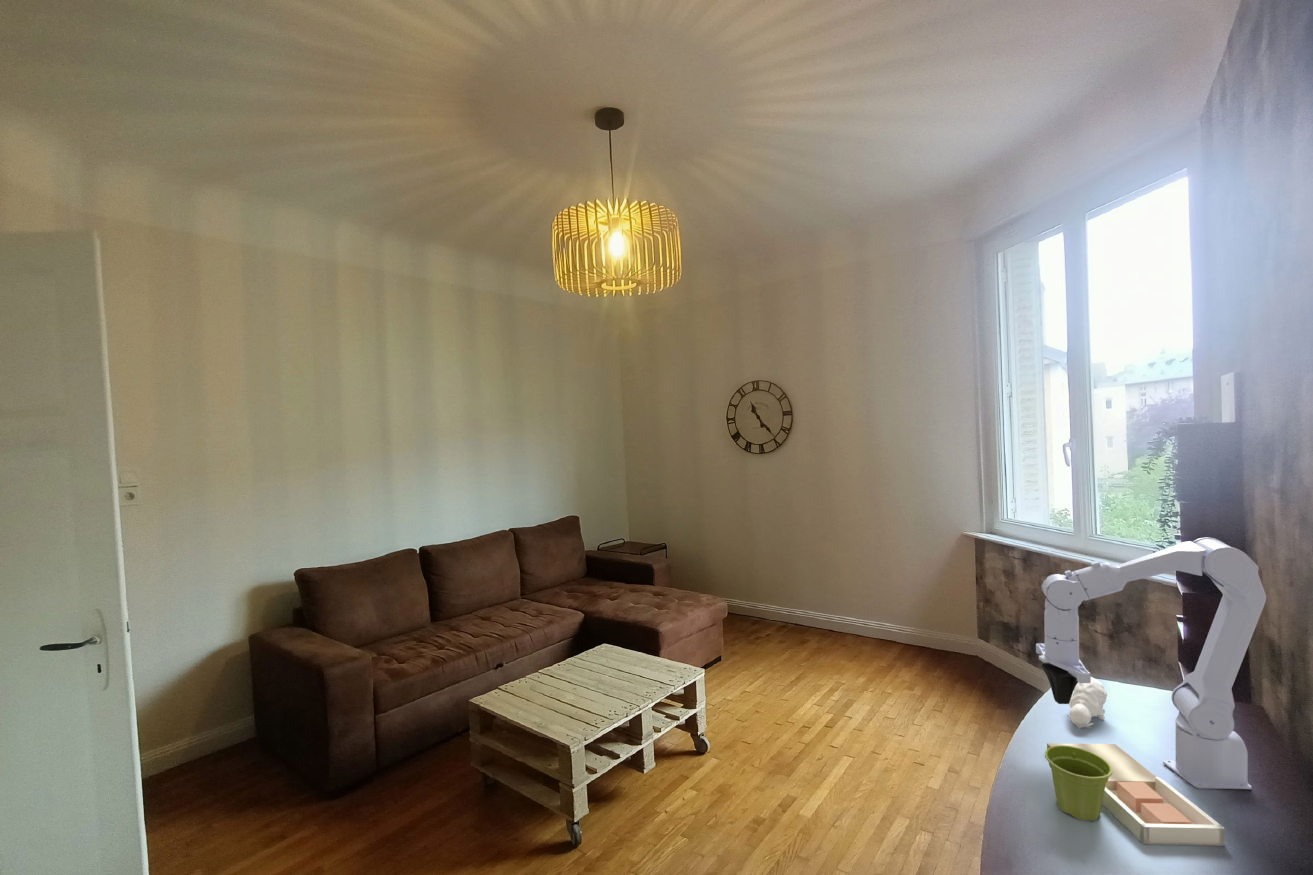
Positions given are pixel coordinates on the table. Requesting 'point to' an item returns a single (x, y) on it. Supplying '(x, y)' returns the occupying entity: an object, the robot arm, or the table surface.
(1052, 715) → the table surface
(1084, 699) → the white figurine
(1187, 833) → the tray
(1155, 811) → the tile
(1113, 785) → the thin cream square panel
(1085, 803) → the plant pot
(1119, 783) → the tile
